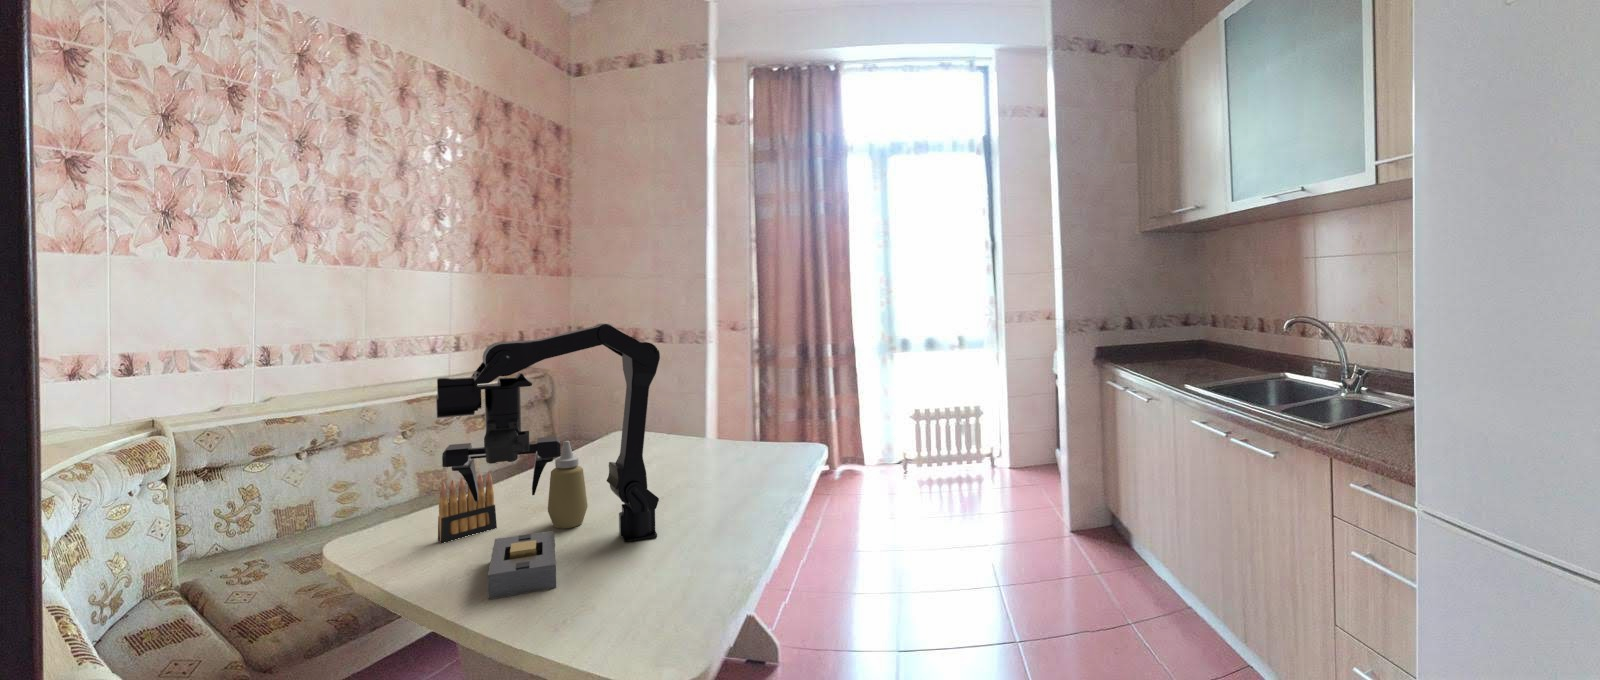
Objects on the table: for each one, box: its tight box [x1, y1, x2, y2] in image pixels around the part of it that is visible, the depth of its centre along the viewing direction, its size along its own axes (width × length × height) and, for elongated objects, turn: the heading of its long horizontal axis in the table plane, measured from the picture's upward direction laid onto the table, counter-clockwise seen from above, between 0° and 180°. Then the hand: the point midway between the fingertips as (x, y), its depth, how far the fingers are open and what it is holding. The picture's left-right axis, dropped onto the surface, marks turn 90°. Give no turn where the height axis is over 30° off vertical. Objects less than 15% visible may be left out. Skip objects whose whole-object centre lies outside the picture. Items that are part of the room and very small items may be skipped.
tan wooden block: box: [510, 540, 537, 560], centre depth 103 cm, size 4×4×5 cm
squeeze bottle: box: [547, 440, 589, 529], centre depth 126 cm, size 8×8×18 cm
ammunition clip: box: [437, 472, 498, 544], centre depth 121 cm, size 11×2×12 cm, turn 141°
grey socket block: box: [487, 530, 557, 601], centre depth 104 cm, size 10×16×4 cm, turn 24°
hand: (505, 497), depth 107 cm, fingers open, 9 cm apart
